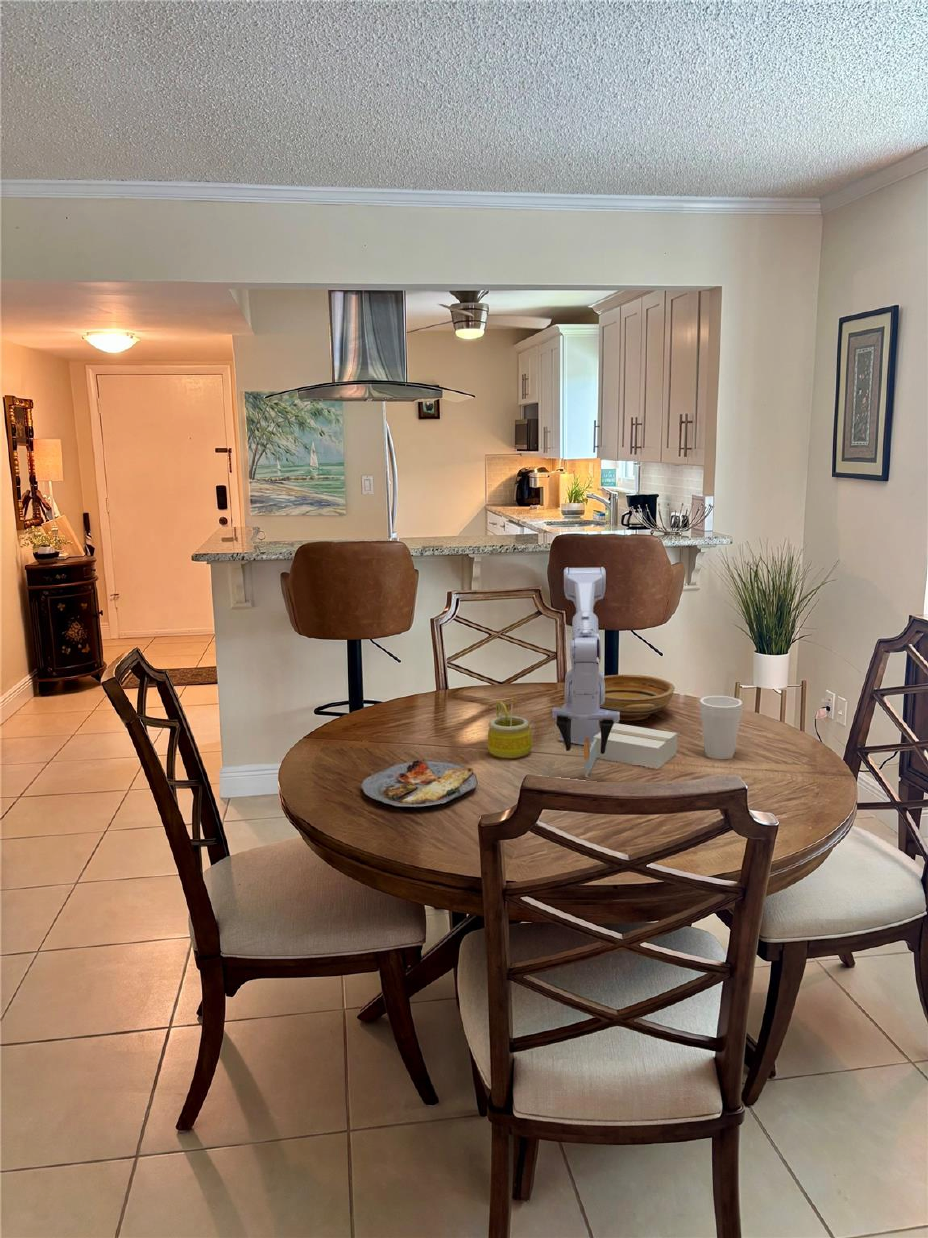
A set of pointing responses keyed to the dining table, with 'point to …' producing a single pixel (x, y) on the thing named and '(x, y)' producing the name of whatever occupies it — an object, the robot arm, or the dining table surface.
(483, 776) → the dining table surface
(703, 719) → the foam cup
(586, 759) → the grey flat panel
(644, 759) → the carton
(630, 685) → the wooden bowl
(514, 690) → the dining table surface
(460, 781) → the food plate
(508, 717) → the yellow plant pot
